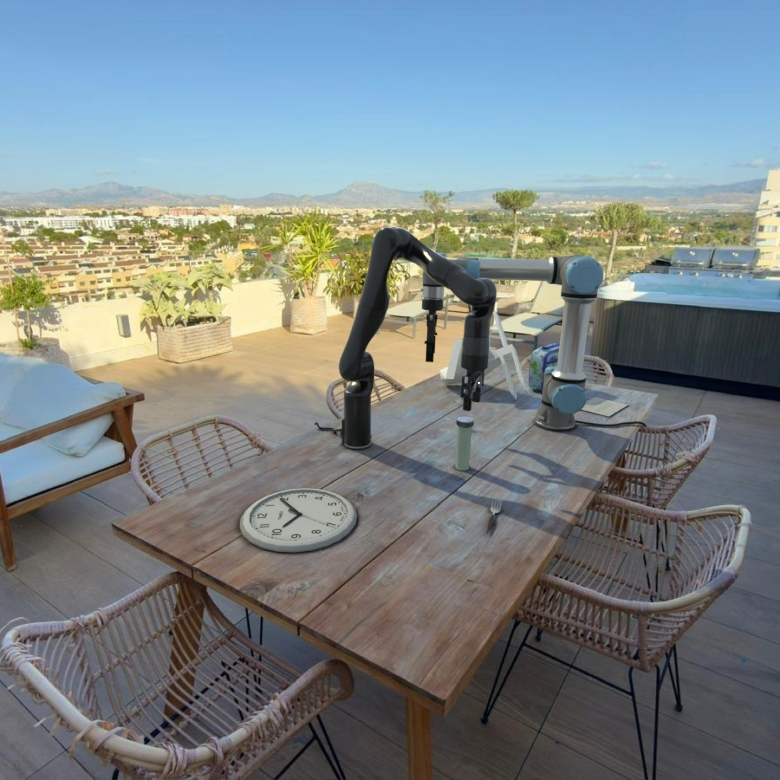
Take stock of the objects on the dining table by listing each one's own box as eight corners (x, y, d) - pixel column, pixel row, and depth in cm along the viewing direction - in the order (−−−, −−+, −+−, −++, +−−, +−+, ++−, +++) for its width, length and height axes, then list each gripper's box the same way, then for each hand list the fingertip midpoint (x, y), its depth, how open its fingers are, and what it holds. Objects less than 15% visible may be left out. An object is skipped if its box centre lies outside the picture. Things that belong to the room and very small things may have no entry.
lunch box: (544, 395, 239) (549, 351, 233) (524, 390, 247) (528, 347, 240) (571, 384, 257) (577, 343, 251) (552, 380, 264) (556, 339, 258)
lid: (474, 422, 164) (475, 417, 163) (471, 428, 159) (472, 423, 159) (458, 420, 165) (458, 415, 165) (454, 426, 161) (454, 421, 160)
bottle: (470, 466, 168) (473, 419, 163) (467, 471, 164) (470, 424, 159) (457, 463, 169) (459, 417, 164) (454, 469, 165) (456, 422, 161)
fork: (481, 533, 130) (482, 526, 130) (492, 503, 145) (493, 497, 144) (492, 535, 130) (492, 528, 129) (501, 505, 144) (502, 499, 143)
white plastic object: (461, 429, 252) (437, 405, 227) (444, 352, 274) (420, 323, 250) (535, 404, 240) (518, 377, 215) (510, 326, 262) (492, 293, 237)
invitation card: (608, 416, 214) (573, 407, 224) (608, 416, 214) (573, 408, 224) (628, 404, 229) (594, 396, 238) (628, 405, 229) (594, 397, 238)
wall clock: (358, 544, 122) (227, 548, 120) (358, 550, 123) (228, 554, 120) (355, 484, 151) (250, 486, 148) (355, 489, 151) (250, 491, 149)
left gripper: (470, 345, 154) (466, 397, 159) (454, 355, 141) (450, 411, 146) (495, 348, 151) (490, 401, 155) (480, 358, 138) (476, 415, 143)
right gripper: (424, 293, 195) (422, 349, 202) (419, 302, 172) (417, 365, 178) (444, 294, 195) (441, 350, 201) (442, 303, 171) (439, 366, 177)
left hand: (471, 406), depth 151 cm, fingers open, 8 cm apart
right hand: (430, 357), depth 190 cm, fingers open, 13 cm apart
